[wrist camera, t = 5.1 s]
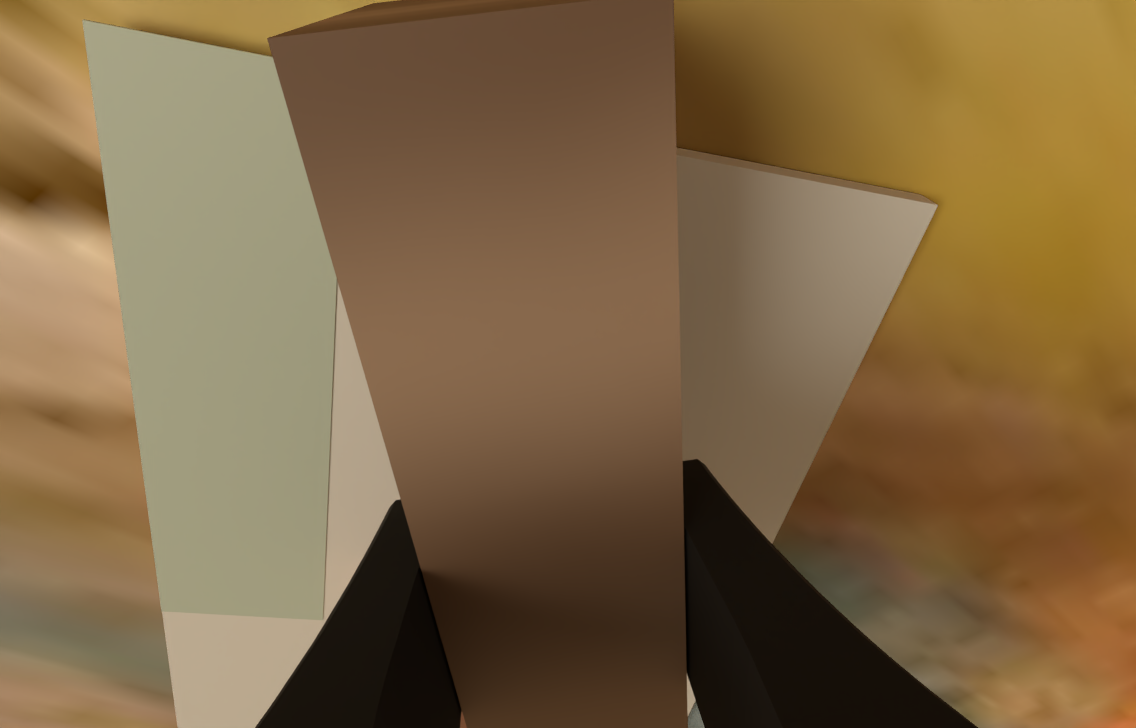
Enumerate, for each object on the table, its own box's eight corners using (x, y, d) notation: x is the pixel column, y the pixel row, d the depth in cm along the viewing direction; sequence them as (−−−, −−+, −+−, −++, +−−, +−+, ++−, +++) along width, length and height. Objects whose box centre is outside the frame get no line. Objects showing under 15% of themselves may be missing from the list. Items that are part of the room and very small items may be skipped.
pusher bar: (636, 589, 16) (689, 831, 11) (502, 608, 15) (504, 858, 11) (592, -22, 9) (673, -9, 5) (373, 3, 9) (267, 37, 5)
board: (927, 178, 13) (946, 189, 12) (671, 722, 22) (675, 742, 21) (103, 15, 10) (82, 19, 10) (185, 706, 19) (177, 729, 18)
